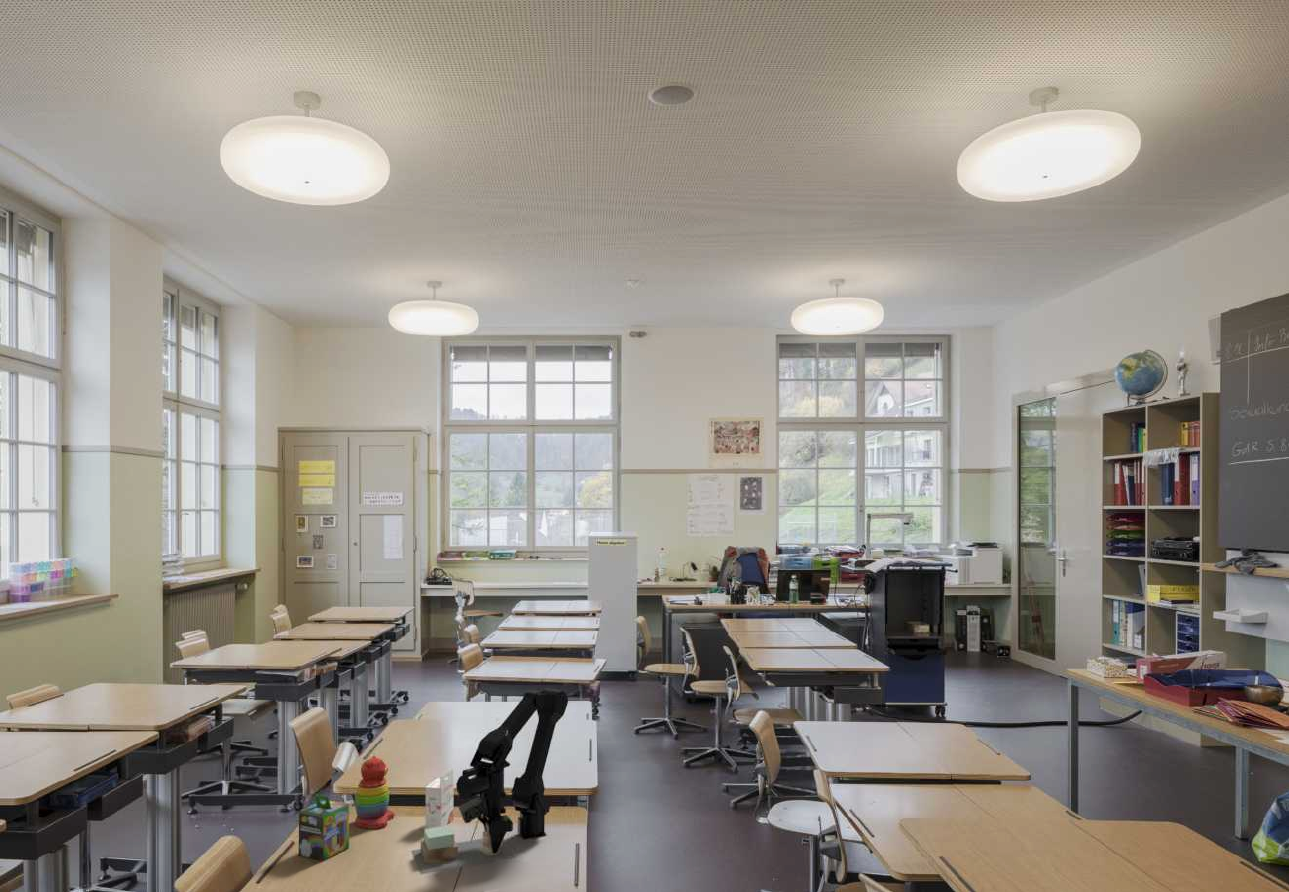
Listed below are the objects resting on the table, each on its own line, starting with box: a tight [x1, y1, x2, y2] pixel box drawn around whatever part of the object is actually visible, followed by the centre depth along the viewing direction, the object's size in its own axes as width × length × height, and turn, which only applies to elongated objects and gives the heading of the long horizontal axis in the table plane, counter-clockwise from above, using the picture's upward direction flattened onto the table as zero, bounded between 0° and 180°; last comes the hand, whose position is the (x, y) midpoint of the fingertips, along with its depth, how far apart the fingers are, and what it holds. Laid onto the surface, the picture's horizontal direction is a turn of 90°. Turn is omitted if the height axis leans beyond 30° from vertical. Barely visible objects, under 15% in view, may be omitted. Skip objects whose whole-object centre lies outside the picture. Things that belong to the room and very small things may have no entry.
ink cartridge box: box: [425, 768, 455, 829], centre depth 233 cm, size 9×5×15 cm, turn 168°
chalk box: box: [298, 793, 350, 862], centre depth 215 cm, size 9×9×15 cm
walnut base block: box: [420, 839, 458, 864], centre depth 211 cm, size 8×8×3 cm
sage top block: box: [423, 824, 455, 851], centre depth 212 cm, size 6×6×3 cm
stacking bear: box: [354, 755, 396, 830], centre depth 236 cm, size 11×10×18 cm
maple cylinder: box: [482, 830, 502, 856], centre depth 213 cm, size 5×5×5 cm
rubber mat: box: [411, 837, 517, 875], centre depth 212 cm, size 24×15×1 cm, turn 114°
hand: (492, 849), depth 213 cm, fingers closed on maple cylinder, 5 cm apart
